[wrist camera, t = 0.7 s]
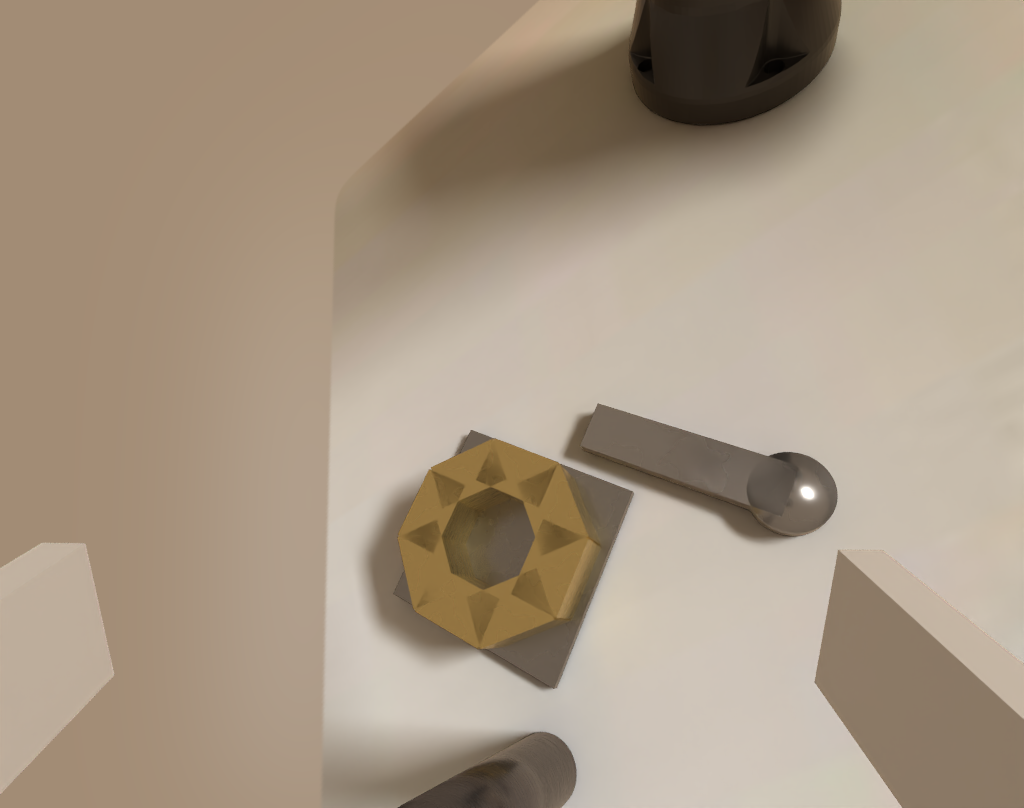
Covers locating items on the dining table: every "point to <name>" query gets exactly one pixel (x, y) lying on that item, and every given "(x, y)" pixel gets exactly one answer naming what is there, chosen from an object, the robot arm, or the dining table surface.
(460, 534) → the ring nut
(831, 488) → the grey bar with ball
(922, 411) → the dining table surface
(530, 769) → the steel pin
